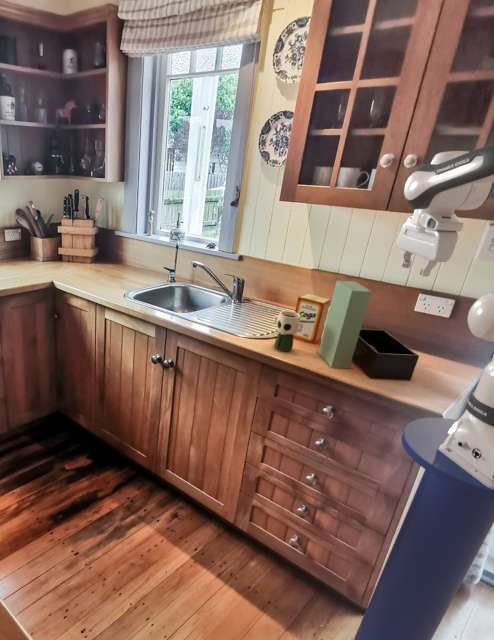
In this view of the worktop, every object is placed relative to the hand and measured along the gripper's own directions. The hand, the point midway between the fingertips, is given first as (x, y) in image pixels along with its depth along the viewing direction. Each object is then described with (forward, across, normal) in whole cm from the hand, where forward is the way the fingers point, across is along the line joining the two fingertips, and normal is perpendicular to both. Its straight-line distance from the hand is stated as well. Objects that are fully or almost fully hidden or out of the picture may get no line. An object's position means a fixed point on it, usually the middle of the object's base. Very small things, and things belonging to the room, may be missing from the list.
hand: (414, 271), depth 128 cm
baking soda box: (+35, -37, -10) cm, 52 cm away
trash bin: (+35, -15, +6) cm, 39 cm away
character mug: (+35, -25, -22) cm, 49 cm away
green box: (+35, -17, -7) cm, 40 cm away
